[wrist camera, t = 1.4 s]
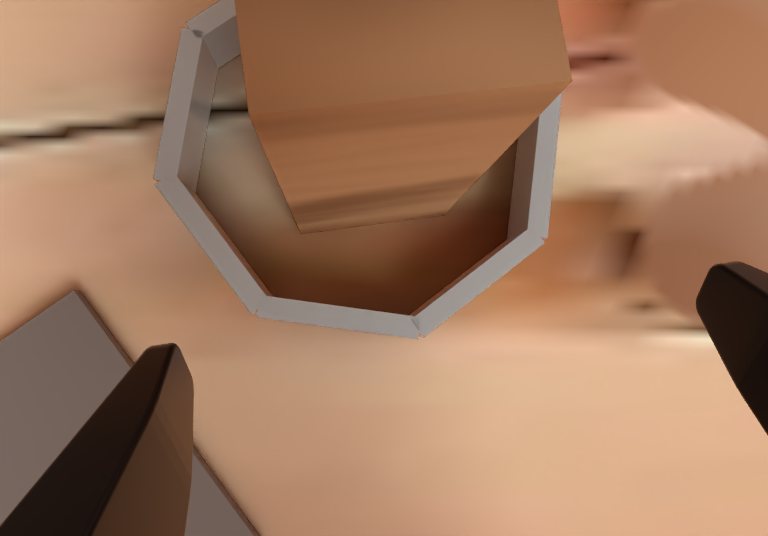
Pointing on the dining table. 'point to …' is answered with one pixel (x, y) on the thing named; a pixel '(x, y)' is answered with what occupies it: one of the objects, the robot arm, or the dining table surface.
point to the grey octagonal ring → (178, 186)
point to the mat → (78, 408)
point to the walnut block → (393, 98)
